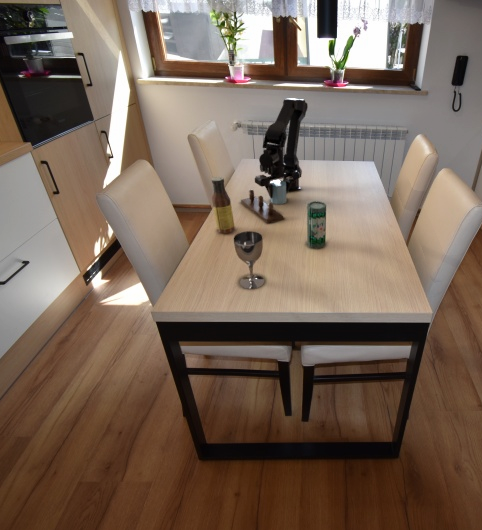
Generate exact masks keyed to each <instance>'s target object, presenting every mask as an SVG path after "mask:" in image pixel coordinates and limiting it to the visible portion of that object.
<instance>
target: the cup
mask: <svg viewBox="0 0 482 530" xmlns="http://www.w3.org/2000/svg"><path fill="white" fill-rule="evenodd" d="M271 184H272V185H273V196H272V199H271V198H270V197H269V198H270V203H272V204H273V205H282V204H285V203H287V201H288V198H287V197H288V193H287V190H286V182H284V181H283V180H281V179H278V180H273V181H271Z"/></svg>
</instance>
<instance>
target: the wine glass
mask: <svg viewBox="0 0 482 530" xmlns="http://www.w3.org/2000/svg"><path fill="white" fill-rule="evenodd" d="M263 239H264V238H263V234H261V233H259V232H257V231H251V230H248V231H246V230H245V231H241V232H239V233H237V234H236V235H234V236H233V245H234V251H235V253H236V256H238V258H239V260H240V261H242V262H243V263H245V264H246V265H247V266H248V269H249V275H246V276H243V278H241V280H240V281H239V284H240V286H241V287H242V288H244V289H249V290H251V289H252V290H253V289H258V288H261V287H262V286H263V285H264V284H265V278H263V276H261V275H259V274H254V265H255V264H256V262H257V261H258V260H259V259H260V258H261V257H262V253H263V250H264V248H263V247H264V240H263Z"/></svg>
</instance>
